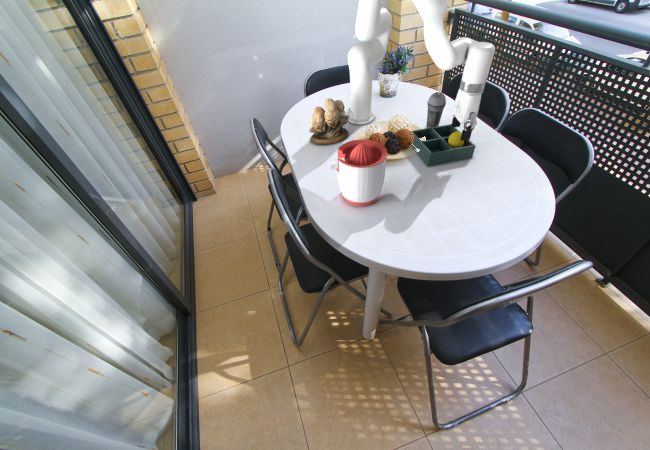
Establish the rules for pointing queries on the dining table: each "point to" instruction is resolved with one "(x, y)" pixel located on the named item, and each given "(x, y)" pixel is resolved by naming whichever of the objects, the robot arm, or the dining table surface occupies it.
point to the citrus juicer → (360, 171)
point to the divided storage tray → (440, 146)
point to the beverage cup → (435, 108)
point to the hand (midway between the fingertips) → (459, 133)
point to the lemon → (455, 140)
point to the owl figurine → (329, 123)
